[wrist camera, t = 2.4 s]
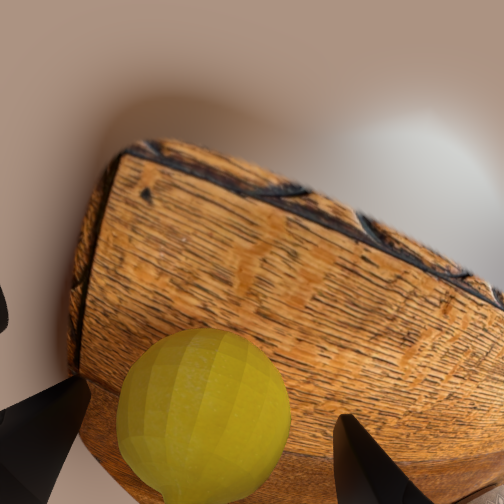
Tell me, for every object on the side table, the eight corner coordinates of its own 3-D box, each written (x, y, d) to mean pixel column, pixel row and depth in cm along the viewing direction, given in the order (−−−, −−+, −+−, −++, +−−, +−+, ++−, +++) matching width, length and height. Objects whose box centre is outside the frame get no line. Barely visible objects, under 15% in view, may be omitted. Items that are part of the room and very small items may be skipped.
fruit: (144, 299, 12) (30, 441, 4) (274, 277, 11) (266, 483, 3) (186, 394, 13) (137, 530, 6) (296, 384, 12) (301, 546, 5)
